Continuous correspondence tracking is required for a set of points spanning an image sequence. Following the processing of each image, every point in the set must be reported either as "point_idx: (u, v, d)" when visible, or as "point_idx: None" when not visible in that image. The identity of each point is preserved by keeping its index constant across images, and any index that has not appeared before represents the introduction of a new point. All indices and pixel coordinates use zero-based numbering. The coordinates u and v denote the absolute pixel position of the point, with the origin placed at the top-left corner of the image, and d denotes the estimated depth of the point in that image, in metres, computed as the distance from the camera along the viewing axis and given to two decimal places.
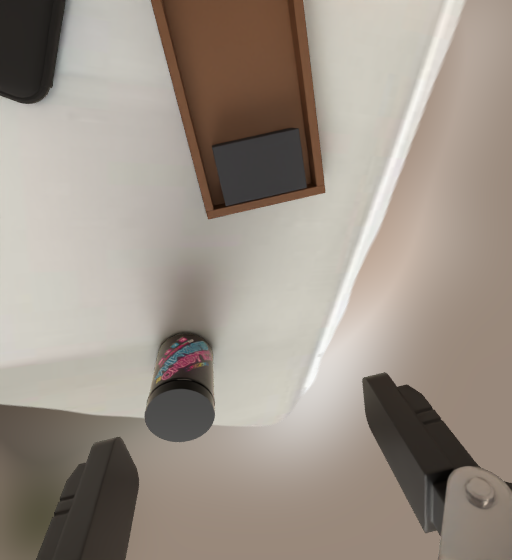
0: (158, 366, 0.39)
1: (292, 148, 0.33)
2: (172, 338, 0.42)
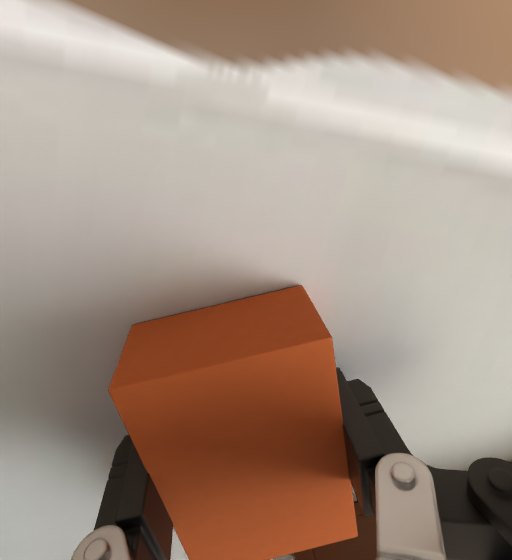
0: None
1: None
2: None
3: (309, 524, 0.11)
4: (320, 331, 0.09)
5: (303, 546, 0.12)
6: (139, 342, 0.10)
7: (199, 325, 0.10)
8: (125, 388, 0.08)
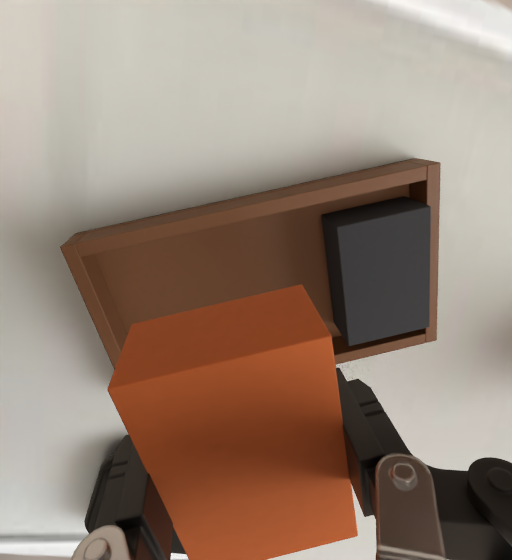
0: None
1: (365, 236, 0.20)
2: None
3: (309, 524, 0.11)
4: (320, 330, 0.09)
5: (303, 546, 0.12)
6: (139, 341, 0.10)
7: (199, 325, 0.10)
8: (124, 387, 0.08)
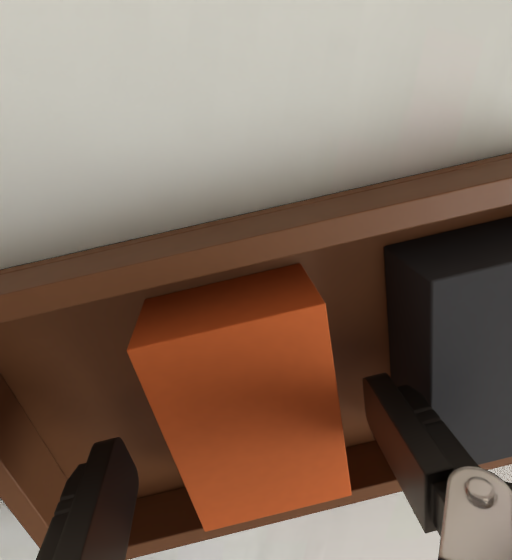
0: None
1: (485, 296, 0.10)
2: None
3: (307, 482, 0.12)
4: (315, 299, 0.10)
5: (301, 504, 0.13)
6: (152, 312, 0.11)
7: (206, 297, 0.11)
8: (141, 348, 0.10)
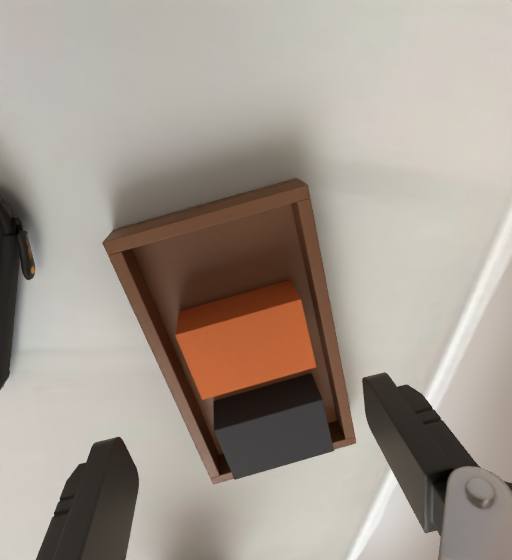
0: None
1: (314, 418, 0.26)
2: None
3: (214, 378, 0.24)
4: (314, 362, 0.25)
5: (196, 378, 0.24)
6: None
7: None
8: (300, 304, 0.22)
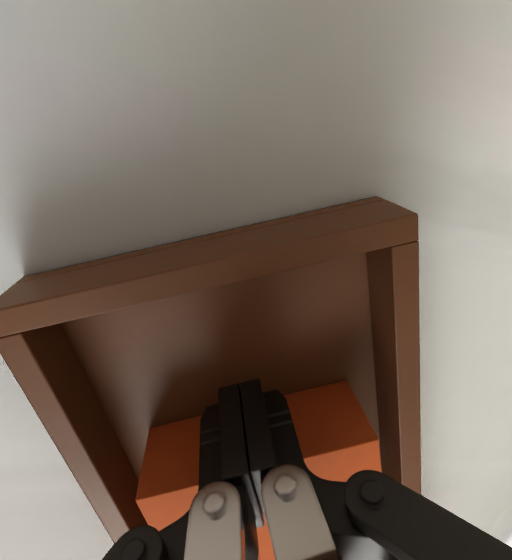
0: None
1: None
2: None
3: None
4: None
5: None
6: None
7: None
8: (377, 448, 0.12)
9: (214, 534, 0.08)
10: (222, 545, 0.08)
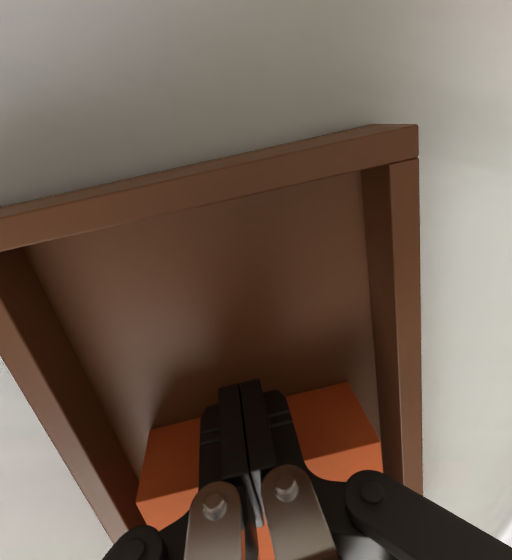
0: None
1: None
2: None
3: None
4: None
5: None
6: None
7: None
8: (378, 450, 0.12)
9: (214, 533, 0.08)
10: (222, 545, 0.08)
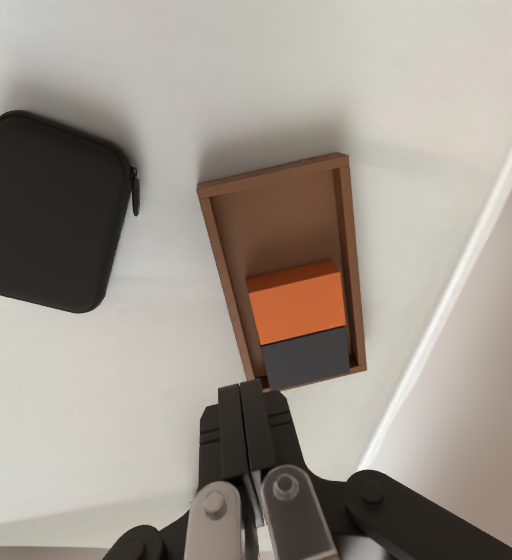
0: None
1: (338, 342, 0.34)
2: None
3: (271, 328, 0.32)
4: (344, 321, 0.33)
5: (259, 327, 0.32)
6: None
7: None
8: (339, 275, 0.31)
9: (214, 534, 0.08)
10: (222, 545, 0.08)
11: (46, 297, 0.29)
